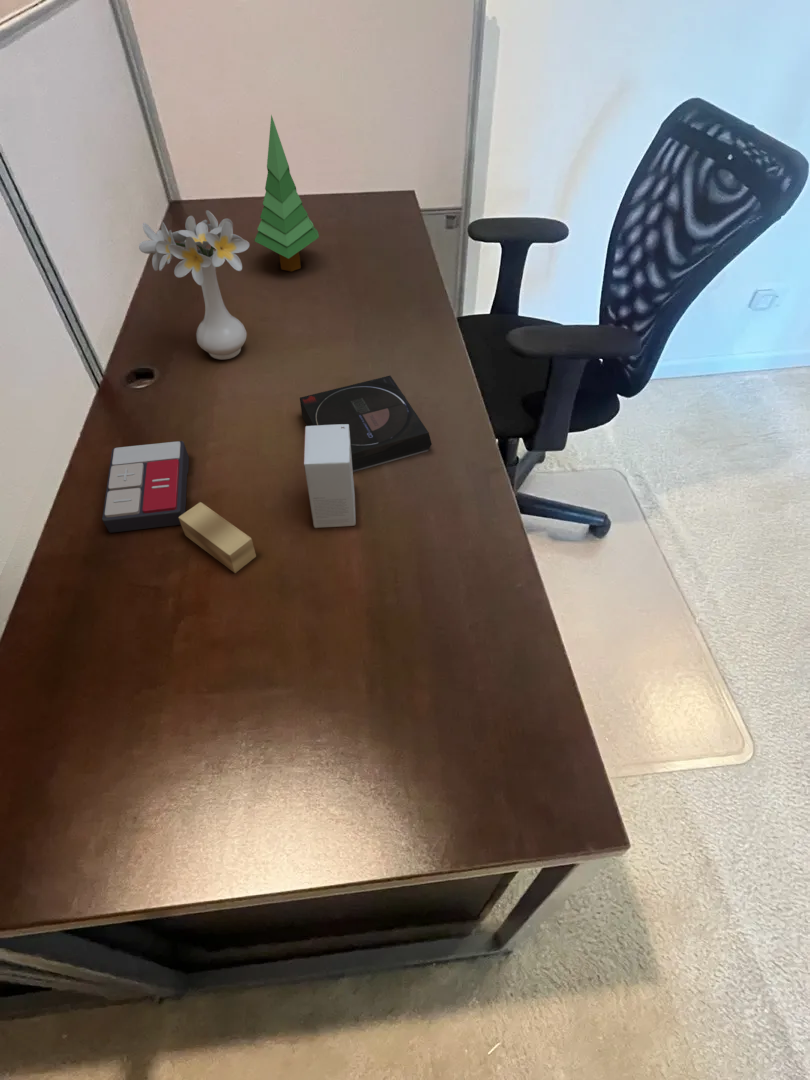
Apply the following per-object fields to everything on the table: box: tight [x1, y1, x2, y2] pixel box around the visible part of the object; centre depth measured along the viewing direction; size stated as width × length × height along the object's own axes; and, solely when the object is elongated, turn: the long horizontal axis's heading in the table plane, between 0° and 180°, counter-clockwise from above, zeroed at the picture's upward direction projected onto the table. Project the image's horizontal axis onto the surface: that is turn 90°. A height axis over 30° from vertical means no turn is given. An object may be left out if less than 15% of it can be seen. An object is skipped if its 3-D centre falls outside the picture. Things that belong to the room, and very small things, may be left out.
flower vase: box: [138, 209, 250, 361], centre depth 119 cm, size 13×18×25 cm
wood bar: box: [178, 501, 257, 574], centre depth 95 cm, size 11×4×4 cm, turn 50°
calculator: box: [101, 440, 190, 534], centre depth 102 cm, size 11×4×15 cm
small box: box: [303, 424, 357, 529], centre depth 97 cm, size 8×6×13 cm
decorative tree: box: [254, 114, 320, 272], centre depth 139 cm, size 14×16×30 cm
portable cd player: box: [299, 375, 433, 473], centre depth 111 cm, size 16×17×4 cm
